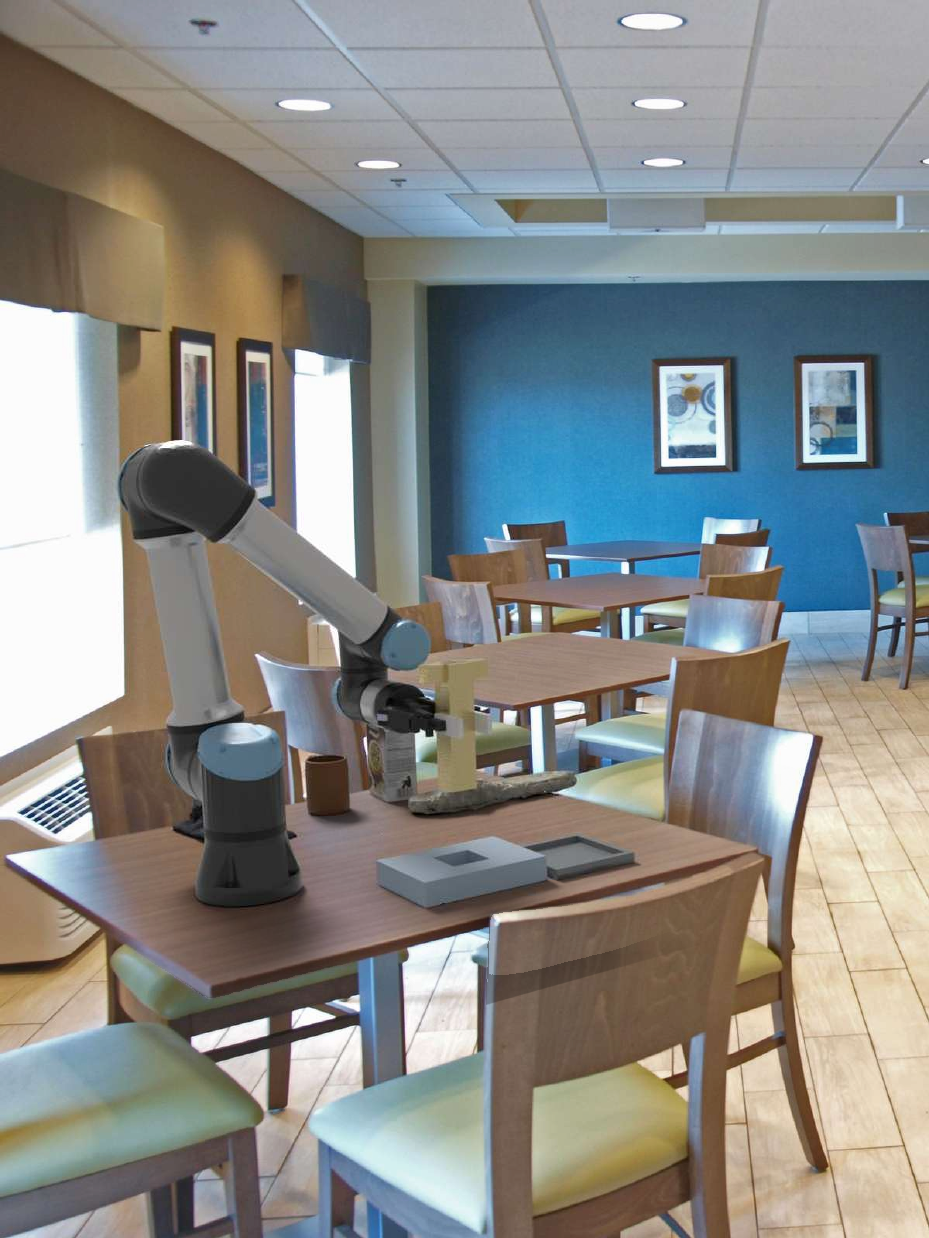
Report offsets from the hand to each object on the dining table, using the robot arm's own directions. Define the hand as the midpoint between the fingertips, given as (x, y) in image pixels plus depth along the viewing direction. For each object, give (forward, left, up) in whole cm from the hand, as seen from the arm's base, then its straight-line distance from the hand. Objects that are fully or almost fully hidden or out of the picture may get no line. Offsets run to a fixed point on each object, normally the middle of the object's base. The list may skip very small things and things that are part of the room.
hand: (475, 726), depth 190 cm
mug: (+4, +59, -24) cm, 64 cm away
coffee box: (+18, +59, -24) cm, 66 cm away
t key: (0, +5, -10) cm, 11 cm away
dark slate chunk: (-15, +55, -24) cm, 62 cm away
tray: (+18, +4, -23) cm, 30 cm away
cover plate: (0, +5, -23) cm, 24 cm away
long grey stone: (+31, +45, -24) cm, 59 cm away
